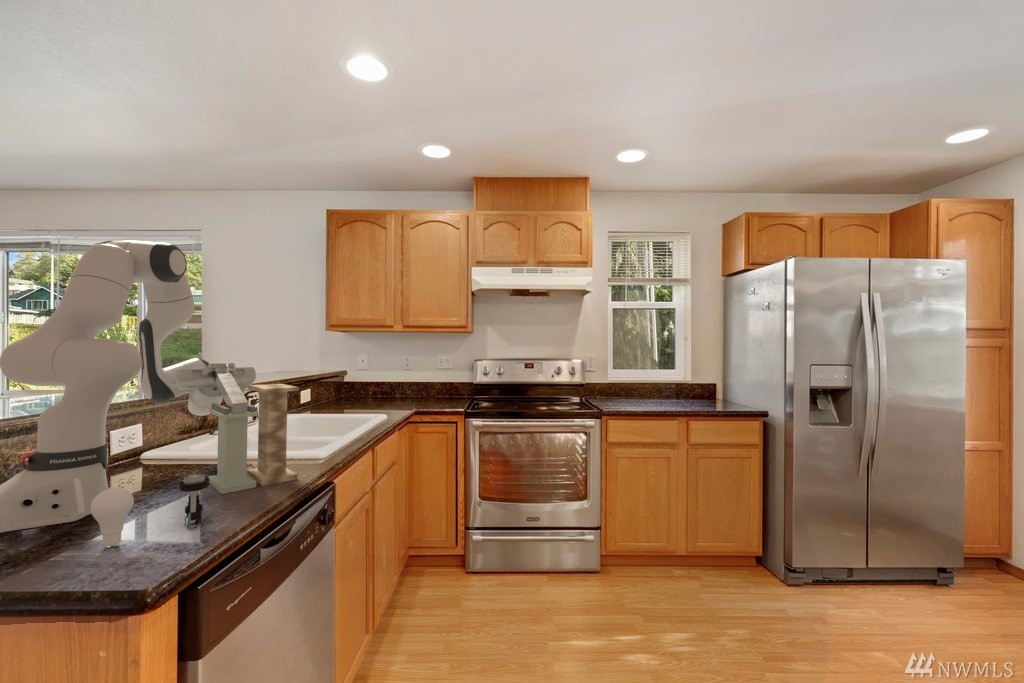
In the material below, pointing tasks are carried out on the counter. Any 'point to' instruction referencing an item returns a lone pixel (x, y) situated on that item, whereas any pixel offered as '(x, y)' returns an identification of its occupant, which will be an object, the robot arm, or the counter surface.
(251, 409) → the pale green pedestal
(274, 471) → the stone pillar pedestal
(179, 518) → the counter surface
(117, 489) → the lightbulb
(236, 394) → the aluminium bar
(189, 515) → the push button
